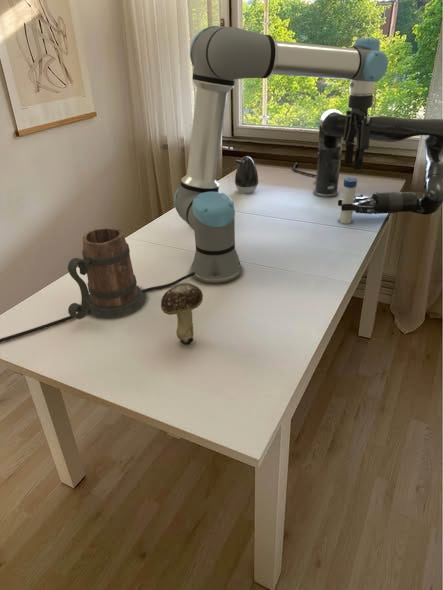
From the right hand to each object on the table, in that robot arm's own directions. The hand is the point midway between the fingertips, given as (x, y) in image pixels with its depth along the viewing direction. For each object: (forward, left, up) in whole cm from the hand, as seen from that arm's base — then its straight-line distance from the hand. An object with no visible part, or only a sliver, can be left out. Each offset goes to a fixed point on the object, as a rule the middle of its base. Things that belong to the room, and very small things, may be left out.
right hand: (340, 205), depth 161 cm
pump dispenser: (-37, -31, -7) cm, 49 cm away
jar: (0, +3, -7) cm, 7 cm away
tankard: (+50, -76, -7) cm, 91 cm away
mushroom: (+67, -54, -7) cm, 87 cm away
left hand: (0, +3, +14) cm, 14 cm away
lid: (0, +3, +9) cm, 9 cm away
